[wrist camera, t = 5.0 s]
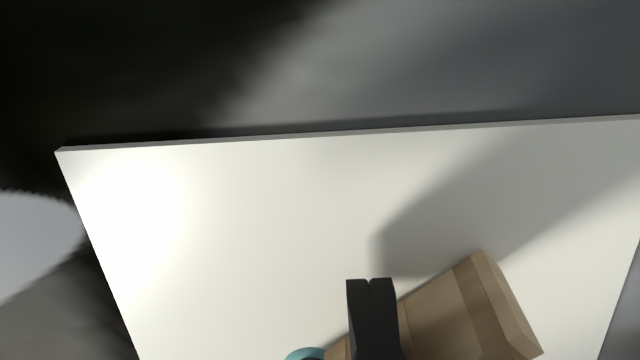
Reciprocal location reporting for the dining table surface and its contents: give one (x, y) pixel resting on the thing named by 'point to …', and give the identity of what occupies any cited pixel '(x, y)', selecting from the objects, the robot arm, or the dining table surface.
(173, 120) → the dining table surface
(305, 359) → the fence fixed panel
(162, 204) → the mat
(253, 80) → the dining table surface
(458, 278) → the fence panel
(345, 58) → the dining table surface
